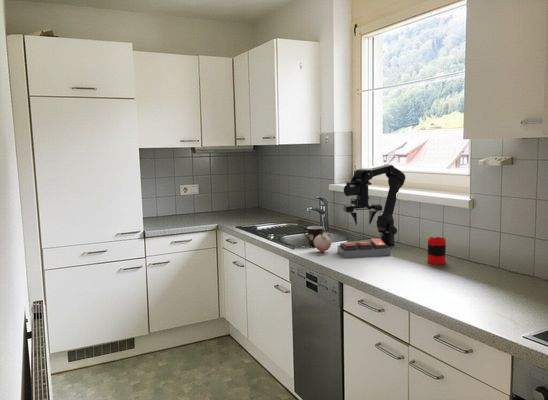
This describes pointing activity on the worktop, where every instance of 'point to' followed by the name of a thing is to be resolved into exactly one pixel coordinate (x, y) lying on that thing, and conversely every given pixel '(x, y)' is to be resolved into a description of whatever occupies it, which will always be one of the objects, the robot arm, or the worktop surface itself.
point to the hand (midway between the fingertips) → (362, 224)
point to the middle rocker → (363, 243)
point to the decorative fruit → (322, 242)
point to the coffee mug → (313, 233)
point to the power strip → (363, 250)
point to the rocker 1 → (348, 244)
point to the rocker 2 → (377, 241)
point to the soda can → (436, 249)
